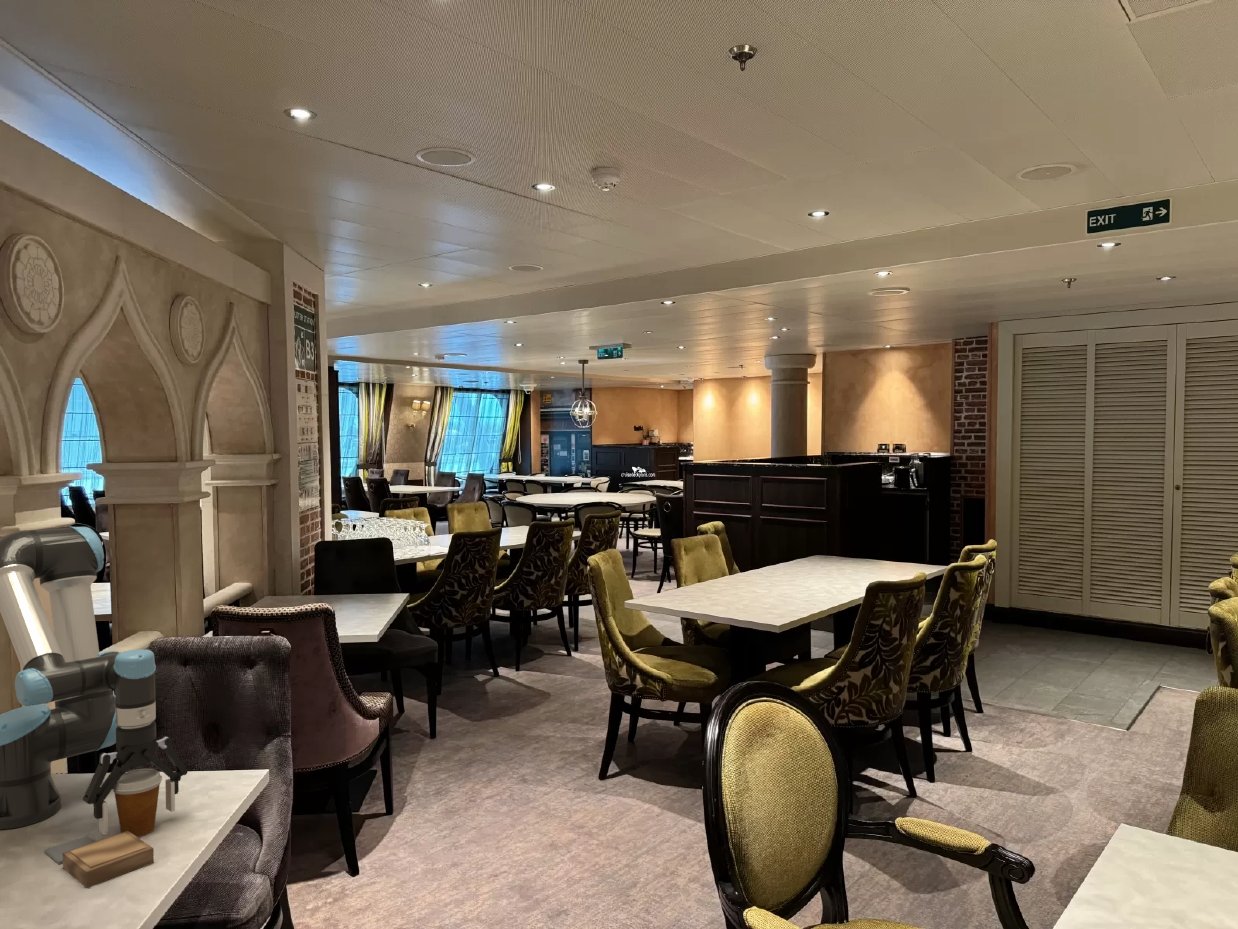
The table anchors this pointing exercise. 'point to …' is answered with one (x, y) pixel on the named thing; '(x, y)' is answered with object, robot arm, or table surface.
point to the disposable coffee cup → (137, 800)
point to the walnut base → (107, 858)
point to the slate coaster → (67, 848)
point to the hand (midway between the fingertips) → (137, 820)
